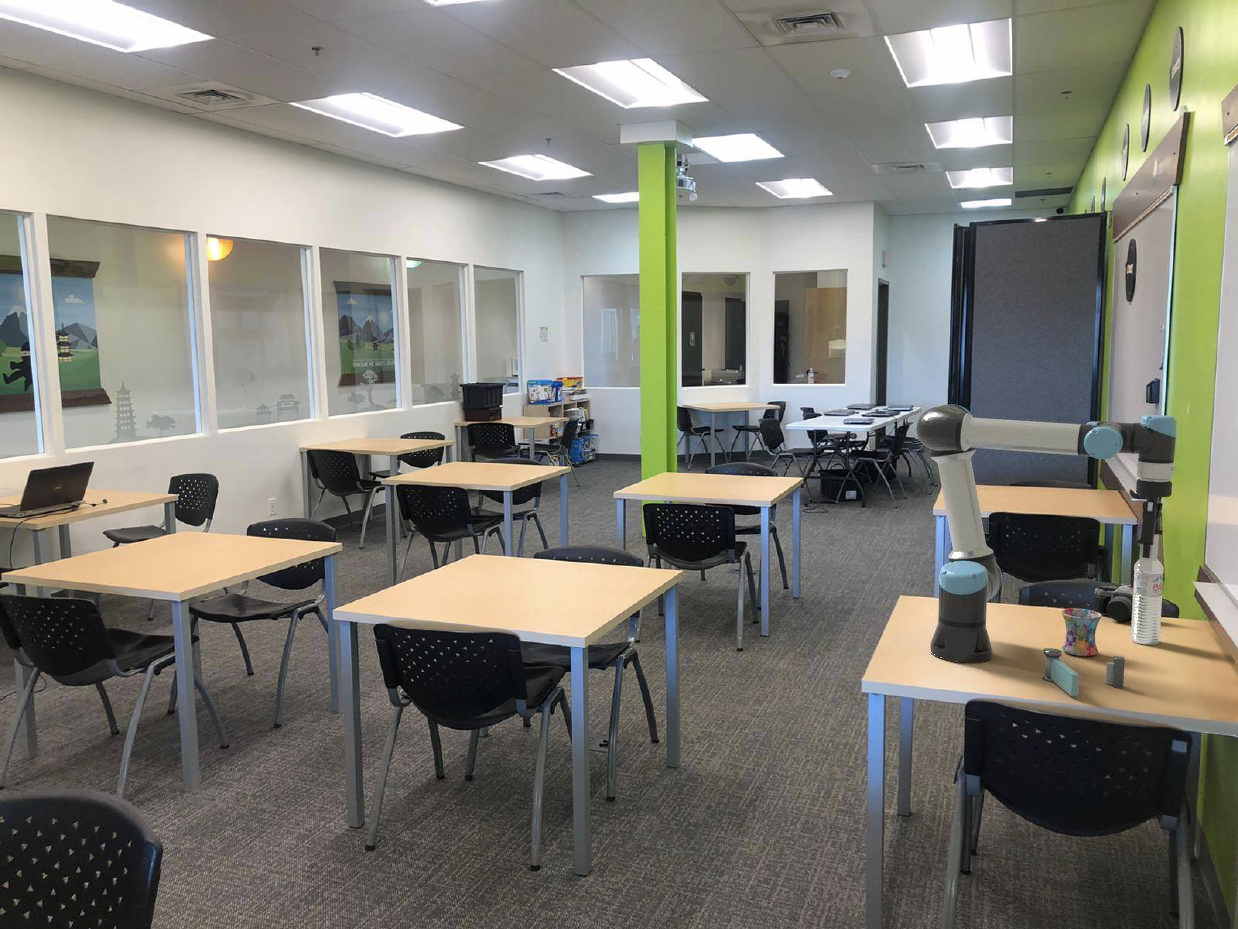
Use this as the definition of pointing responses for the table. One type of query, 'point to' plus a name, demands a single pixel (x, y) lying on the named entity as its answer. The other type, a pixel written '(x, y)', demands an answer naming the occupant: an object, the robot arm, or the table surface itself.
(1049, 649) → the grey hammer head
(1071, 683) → the teal rectangular bar
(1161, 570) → the water bottle
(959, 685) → the table surface
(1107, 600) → the camera
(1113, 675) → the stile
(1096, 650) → the mug
